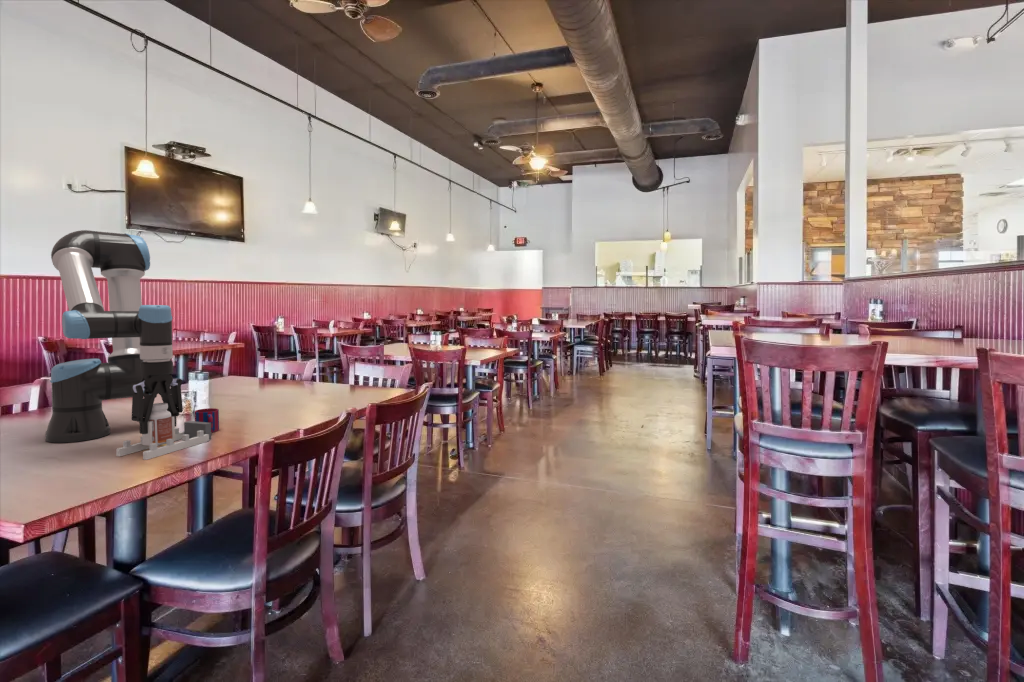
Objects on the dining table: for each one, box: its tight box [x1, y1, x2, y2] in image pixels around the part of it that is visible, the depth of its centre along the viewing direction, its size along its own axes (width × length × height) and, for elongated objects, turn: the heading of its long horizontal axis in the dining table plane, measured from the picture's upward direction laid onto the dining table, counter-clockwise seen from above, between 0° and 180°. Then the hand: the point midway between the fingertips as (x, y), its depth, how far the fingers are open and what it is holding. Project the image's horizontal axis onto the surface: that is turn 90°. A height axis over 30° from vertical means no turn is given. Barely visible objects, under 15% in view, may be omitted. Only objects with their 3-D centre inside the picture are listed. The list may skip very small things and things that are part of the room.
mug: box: [194, 407, 220, 434], centre depth 166 cm, size 7×10×7 cm
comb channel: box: [115, 420, 212, 461], centre depth 148 cm, size 10×22×5 cm, turn 165°
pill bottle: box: [149, 402, 172, 446], centre depth 145 cm, size 6×6×11 cm
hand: (159, 441), depth 145 cm, fingers closed on pill bottle, 6 cm apart
